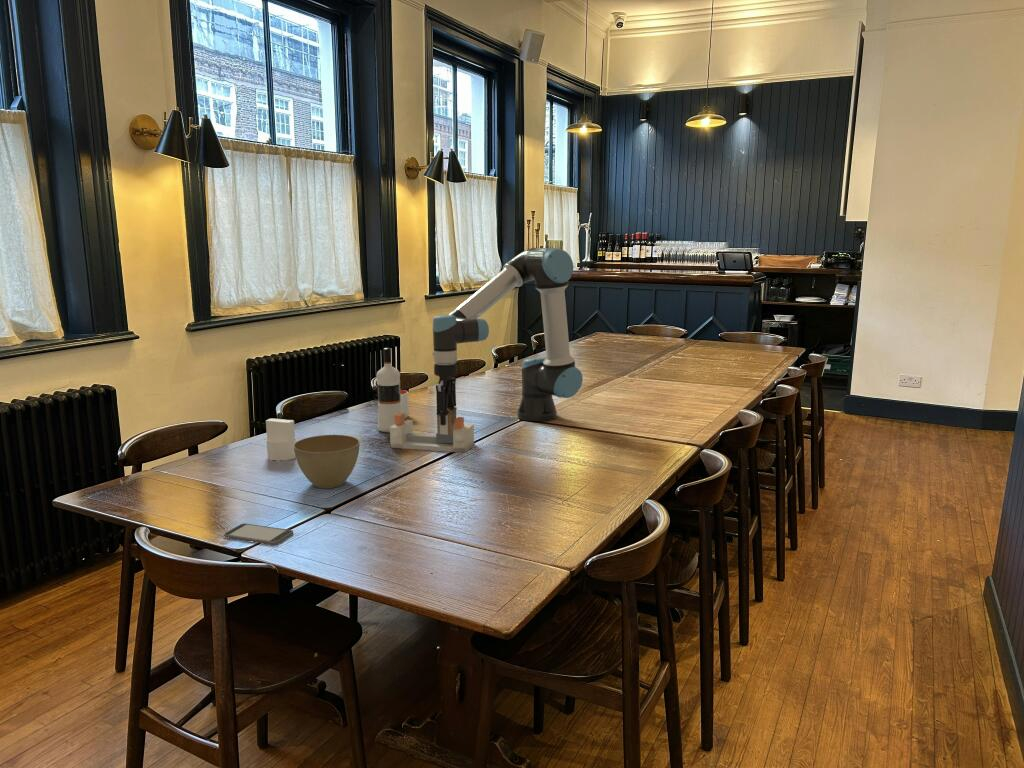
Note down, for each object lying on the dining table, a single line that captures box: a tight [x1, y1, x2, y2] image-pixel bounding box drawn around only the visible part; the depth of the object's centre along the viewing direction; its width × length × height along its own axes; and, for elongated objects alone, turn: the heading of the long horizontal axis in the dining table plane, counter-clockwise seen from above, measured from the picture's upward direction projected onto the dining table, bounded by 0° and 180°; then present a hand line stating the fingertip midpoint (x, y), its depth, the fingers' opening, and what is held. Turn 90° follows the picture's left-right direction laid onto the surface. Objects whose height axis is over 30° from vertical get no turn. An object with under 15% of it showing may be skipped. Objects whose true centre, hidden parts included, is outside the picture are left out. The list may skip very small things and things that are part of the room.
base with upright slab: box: [265, 418, 297, 462], centre depth 234 cm, size 9×9×12 cm
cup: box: [400, 389, 410, 419], centre depth 283 cm, size 10×10×10 cm
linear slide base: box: [389, 416, 475, 453], centre depth 245 cm, size 26×10×10 cm, turn 76°
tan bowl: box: [294, 434, 361, 489], centre depth 208 cm, size 18×18×12 cm
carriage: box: [435, 407, 457, 443], centre depth 243 cm, size 6×5×11 cm
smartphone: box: [223, 523, 294, 546], centre depth 174 cm, size 7×1×15 cm
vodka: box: [376, 347, 401, 434], centre depth 263 cm, size 9×9×30 cm
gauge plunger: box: [394, 413, 406, 425], centre depth 247 cm, size 2×4×3 cm, turn 166°
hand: (447, 431), depth 243 cm, fingers open, 5 cm apart
